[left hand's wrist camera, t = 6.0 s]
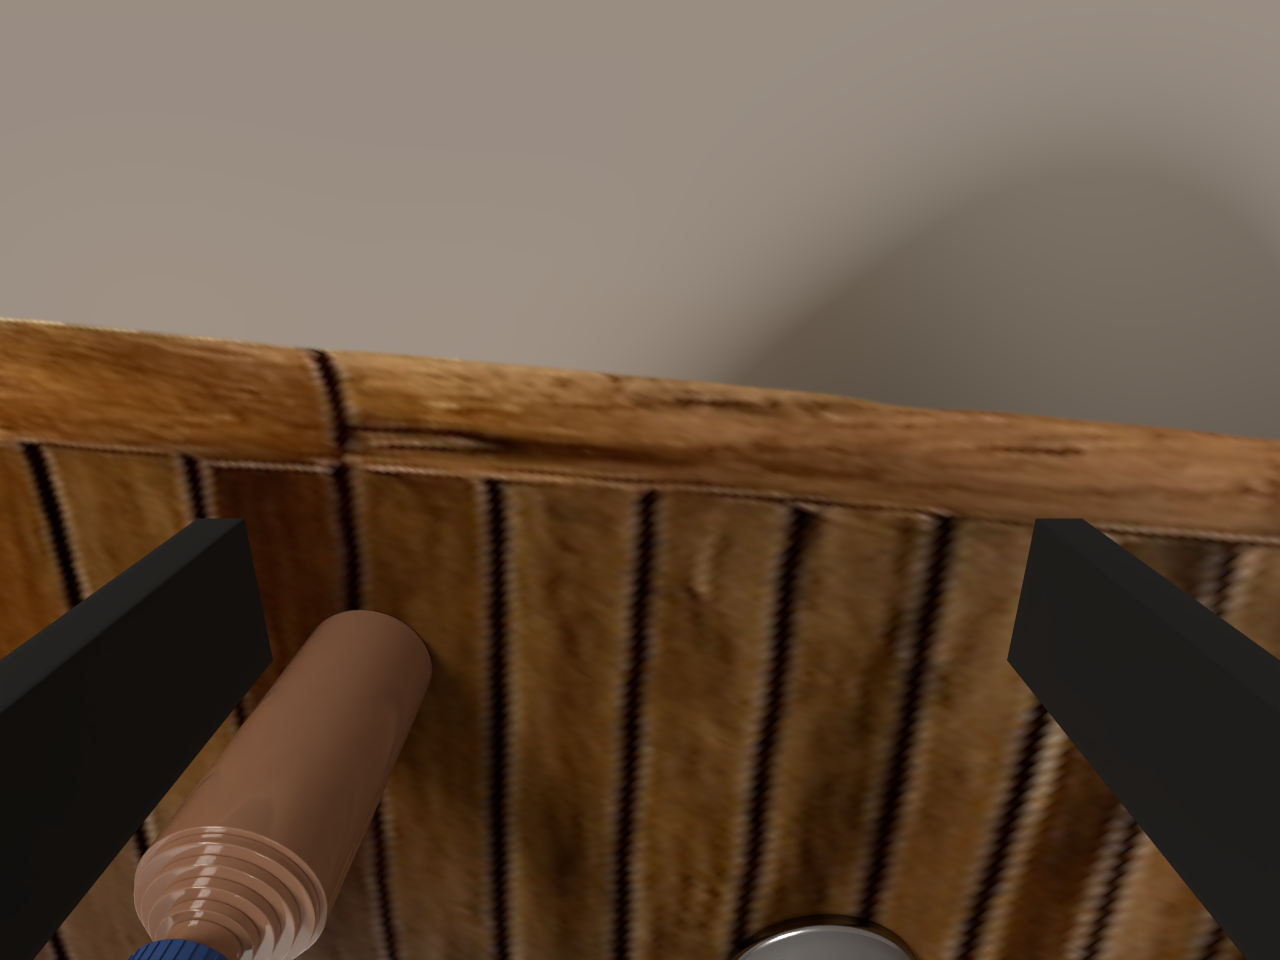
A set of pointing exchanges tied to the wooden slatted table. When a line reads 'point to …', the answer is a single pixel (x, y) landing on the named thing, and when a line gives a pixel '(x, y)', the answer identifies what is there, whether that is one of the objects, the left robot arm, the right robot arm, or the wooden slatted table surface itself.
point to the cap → (176, 951)
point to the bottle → (288, 796)
